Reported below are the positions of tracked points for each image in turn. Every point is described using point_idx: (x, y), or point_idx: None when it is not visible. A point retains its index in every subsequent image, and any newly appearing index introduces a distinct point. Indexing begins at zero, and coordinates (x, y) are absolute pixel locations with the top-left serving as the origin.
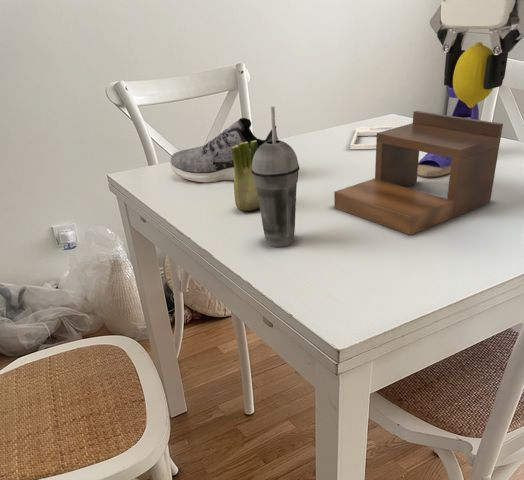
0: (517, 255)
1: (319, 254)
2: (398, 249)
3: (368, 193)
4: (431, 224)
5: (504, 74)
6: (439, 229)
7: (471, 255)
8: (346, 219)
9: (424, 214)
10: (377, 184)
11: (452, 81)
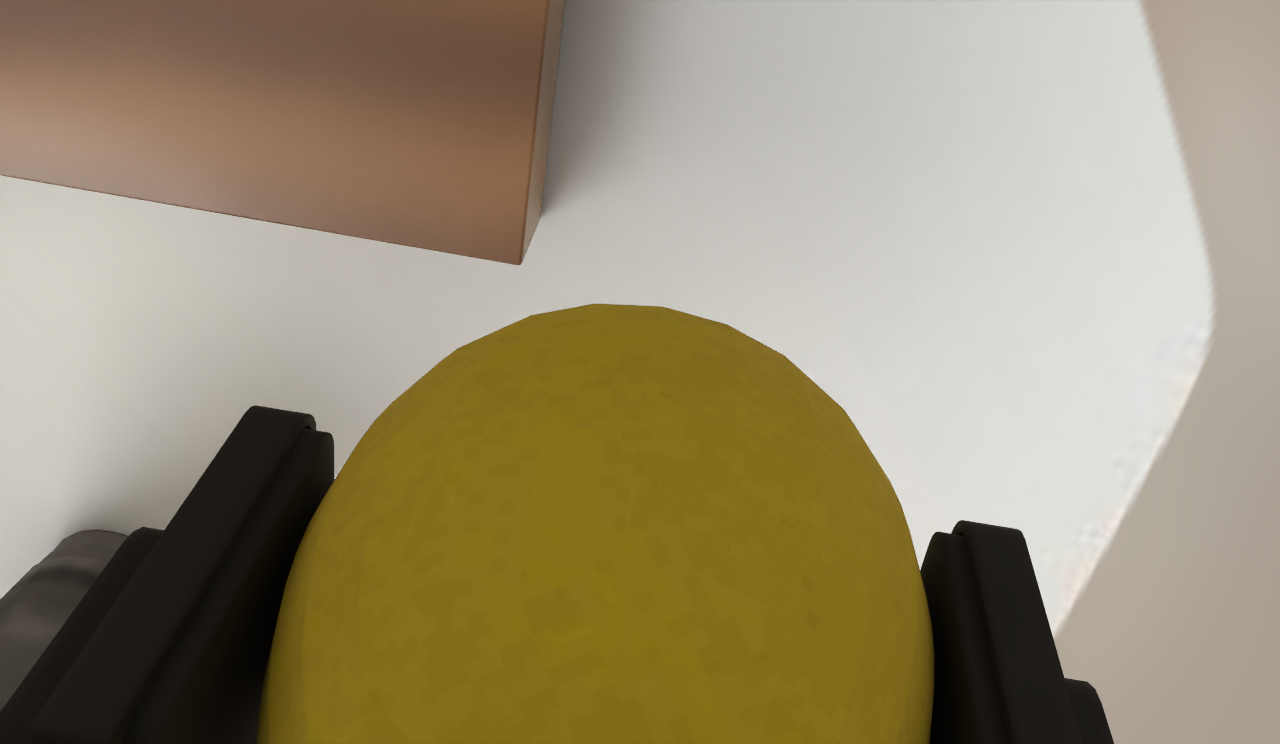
0: (1164, 138)
1: None
2: None
3: (2, 51)
4: (557, 45)
5: (1101, 726)
6: (622, 46)
7: (943, 265)
8: (100, 214)
9: (534, 150)
10: None
11: None
